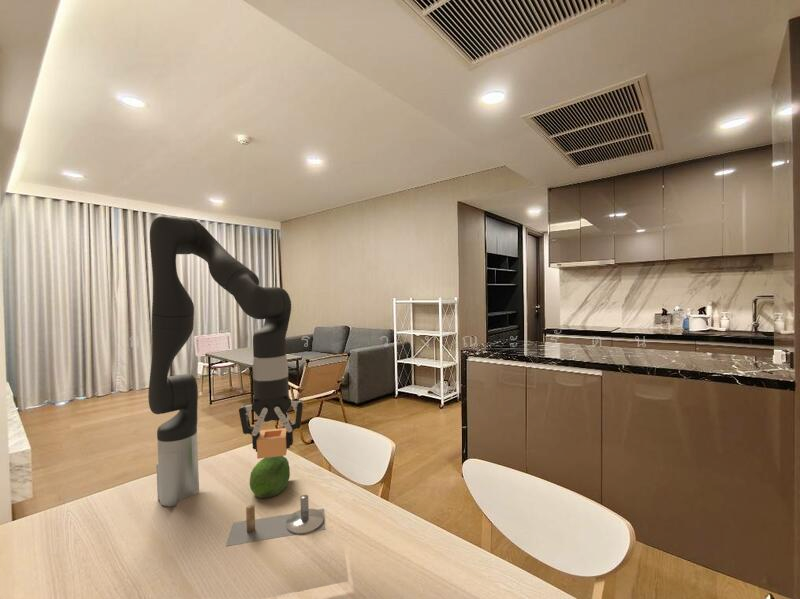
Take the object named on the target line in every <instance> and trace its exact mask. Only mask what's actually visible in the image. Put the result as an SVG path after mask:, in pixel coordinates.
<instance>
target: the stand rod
mask: <svg viewBox="0 0 800 599" xmlns="http://www.w3.org/2000/svg"><path fill="white" fill-rule="evenodd" d="M255 507H256V505H255V504H248V505H246V508H245V514H246V517H245V518H246V520H245V521H246V523H247V533H252V532H254V531H255V519H256V516H255V515H256V512H255V511H256V510H255Z"/></svg>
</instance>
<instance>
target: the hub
mask: <svg viewBox="0 0 800 599" xmlns="http://www.w3.org/2000/svg"><path fill="white" fill-rule="evenodd" d="M299 501H300V510H297V511H294V512H293V513H290V514H291V515H290V516H289V517H288V519H287V520H286V528H287V530H288V531H289V532H291V533H294V534H296V535H306V534H308V533H313V532H312V531H314V530H316V529H318V528H319V527H320V526H321V525H322V523H323V520H324V518H325V516H324V517H323V514H322V513H321V512H320V511H319V509H316V508H309V507H310V506H309V495H308V494H303V495H301V496H300V500H299ZM314 532H315V531H314Z"/></svg>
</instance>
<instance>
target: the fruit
mask: <svg viewBox="0 0 800 599" xmlns="http://www.w3.org/2000/svg"><path fill="white" fill-rule="evenodd" d="M290 472H291V471H290V465H289V460H288V458H287V457H285V456H277V457H268V458H261V460H259V462H257V463H256V465H255V466H254V467H253V468H252V470H251V472H250V477H249V488H250V491H251V492H252V493H253V494H254V495H255V496H256V497H257V498H260V499H270V498H273V497H275V496H277V495H279V494H281V493H282V492H283V490H284V489H285V488H286V487H287V485H288V483H289V479H290V476H291V473H290Z"/></svg>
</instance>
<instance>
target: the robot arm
mask: <svg viewBox="0 0 800 599" xmlns="http://www.w3.org/2000/svg"><path fill="white" fill-rule="evenodd" d="M149 228H150V229H149V247H150V248H149V249H150V258H151V271H152V304H151V305H152V306H151V364H150V373H149V382H148V394H147V395H148V396H147V397H148V404H149V405H148V406H149V409H150V411H151V412H152V414H155V415H163V414H167V413H173V412H177V411H178V412H177V413H176V414H175V415H174V416H172V417H171V418H169V420H167V421H164V423H162V424H160V425H159V426H158V428H157V431H156V440H157V442H156V444H157V465H155V466H156V467H155V469H156V486H157V487H156V489H157V500H159V503H160V505H162V507H163V506H164V507H176V506H177V505H178V503H179V502H180V501H182V500H185V499H187V498H189V497H191V496H193V495H194V494H199V493H200V481H199V480H200V475H199V449H198V447H199V446H198V405H199V403H198V401H199V389H198V383H197V379H196V378H195V376H194V375H193V374H191V373H185V374H184V373H183V374H178V375H170V376H169V372H170V369H171V365H172V364H173V362H174V360H175V358H176V356H177V355H178V354H179V352H180V351H181V350H182V348H183V347H184V346H185V345H186V343H187V341H188V340H189V338H190V337H191V335H192V334H193V331H194V322H195V320H194V318H195V305H194V302H193V300H192V298H191V296H190V294H189V292H187V289H186V288H185V287H184V285H183V283H182V281H181V280H180V277H179V276H178V271H177V255H194V256H196V257H199V258H201V259H203V260H204V261H205V262H206V263H207V267H208V270H209V271H208V272H209V274H210V275H211V278H212V279H213V280H214V282H216V284H218V286H220V287H221V288H223V289H224V290H225V291H227V292H228V293H229V294H230V295H232V297H233V298H234V300H235V302H237V304H238V305H239V307H240V309H241V310H242V311H243V313H244V314H245V315H247V316H249V317H251V318H253V319H255V320H264V323H263V327H262V328H260V329H258V330H257V331H255V332H254V333H253V336H252V350H253V351H252V352H253V360H252V362H253V363H252V384H253V386H252V387H253V388H252V389H253V402H252V404H242V405H240V407H239V409H238V414H239V418H240V423H241V424H240V425H241V429H242V433H243V434H244V435H251V441H252V443H251V444H252V449H253V450H255V452H256V453H257V439H258V437H259V435H260V429H261V426H262V425H263V422H265V423H266V422H271V421H273V422H274V421H276V422H277V421H280V422H281V424H282V425H283V426H284V428H286V446H287V449H290V448H291V446H293V443H294V431H295V430H299V429H300V428H301V425H302V424H301V423H302V417H303V408H304V407H303V406H304V401H303V400H304V399H303V400H302V399H299V400H292V399H291V398H290V391H289V390H290V389H289V387H290V385H289V363H288V358H287V340H286V339H287V338H286V336H287V332H288V328H289V322H290V319H291V315H292V301H291V297H290V294H289V293H288V292H287V290H285V289H284V288H282V287H279V286H272V287H271V286H270V287H269V286H268V287H267V286H266V287H264V286H263V287H262V286H261V285H260V279H259V277H258V276H257V274H256V273H254V271H252V270H251V269H250V268H249V267H247V266H246V265H244V264H243V263H242V262H241V261H239V260H238V259H236V258H235V257H234V256H233V255H231V253H229V252H228V251H227V250H226V249H225V248H224V247H223V246H222V245H221V243H219V241H218V240H217V239H216V238H215V237H214V236H213V235H212V234H211V233H210V231H209V230H208V229H206V227H205V226H204V225H203V224H202V223H201V222H200V221H198V220H196V219H194V218H191V217H184V216H175V215H174V216H172V215H158V216H156V217H154V219H153V220H152V222H151V225H150V227H149ZM291 407H292V409H293V411H295V412H296V413H295V414H296V416H295V421H293V422H292V421H291V419H290V416H289V415H288V411H289V409H290V408H291ZM251 410H253V412H254V413H255V414H256V415H257V416H258V417H257V418H258V419H257V421H256V423H255V425H254V426H252V425H251V422H250V417H249V416H250V415H251Z"/></svg>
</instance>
